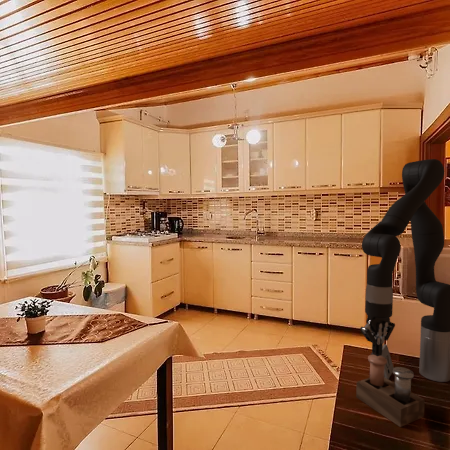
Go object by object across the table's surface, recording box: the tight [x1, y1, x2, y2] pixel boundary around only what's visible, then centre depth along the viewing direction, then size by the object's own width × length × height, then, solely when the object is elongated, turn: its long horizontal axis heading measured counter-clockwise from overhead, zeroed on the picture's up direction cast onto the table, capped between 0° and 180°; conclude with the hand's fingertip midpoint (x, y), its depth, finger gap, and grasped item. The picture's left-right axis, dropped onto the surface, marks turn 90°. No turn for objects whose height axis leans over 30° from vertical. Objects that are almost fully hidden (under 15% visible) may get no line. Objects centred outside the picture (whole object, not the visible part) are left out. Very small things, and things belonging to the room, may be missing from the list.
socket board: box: [355, 377, 426, 428], centre depth 96 cm, size 10×15×5 cm, turn 25°
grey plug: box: [392, 366, 415, 402], centre depth 92 cm, size 5×5×8 cm
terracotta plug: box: [367, 354, 387, 386], centre depth 100 cm, size 5×5×8 cm
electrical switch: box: [370, 343, 394, 380], centre depth 115 cm, size 9×5×9 cm, turn 141°
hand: (377, 354), depth 99 cm, fingers closed
